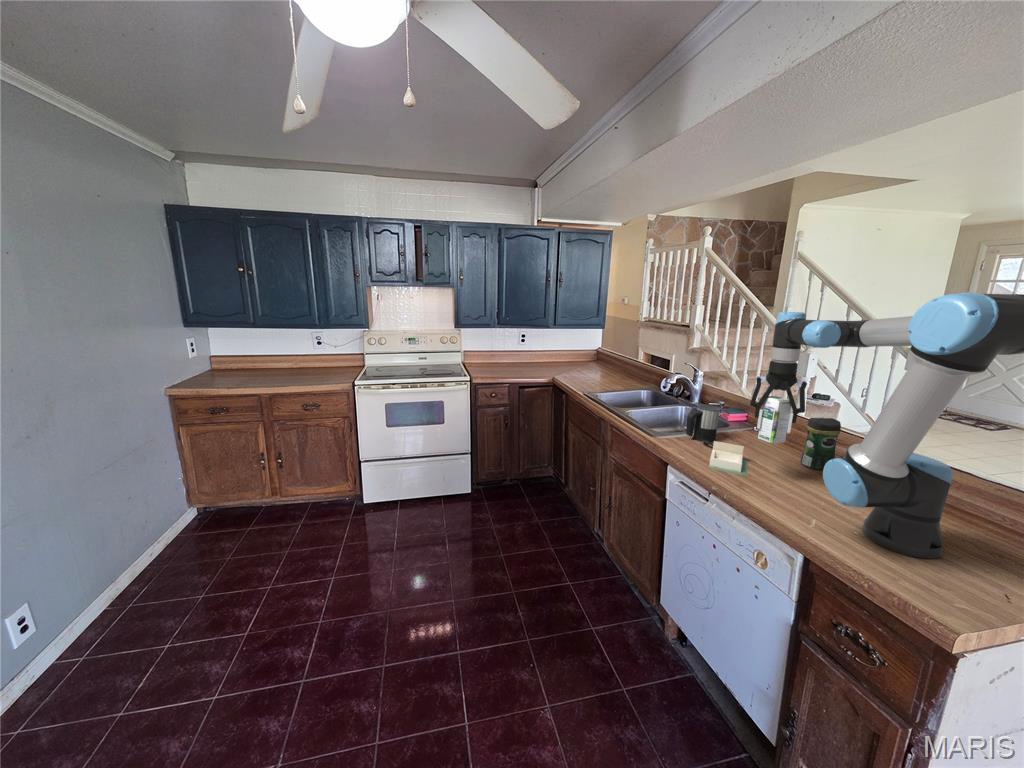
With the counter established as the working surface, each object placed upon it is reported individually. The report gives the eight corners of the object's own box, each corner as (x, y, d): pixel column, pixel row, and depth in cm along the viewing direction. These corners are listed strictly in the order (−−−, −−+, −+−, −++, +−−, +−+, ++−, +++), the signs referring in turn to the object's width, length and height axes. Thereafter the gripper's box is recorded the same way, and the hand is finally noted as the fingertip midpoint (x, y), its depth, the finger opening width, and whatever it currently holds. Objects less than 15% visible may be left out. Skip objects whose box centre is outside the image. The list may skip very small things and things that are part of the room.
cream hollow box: (740, 472, 143) (743, 456, 142) (709, 466, 148) (711, 450, 147) (741, 461, 153) (743, 446, 152) (711, 455, 158) (713, 440, 156)
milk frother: (701, 434, 183) (705, 402, 179) (735, 446, 170) (741, 412, 166) (680, 440, 175) (684, 407, 172) (715, 453, 162) (720, 417, 159)
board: (746, 477, 141) (747, 476, 141) (708, 469, 147) (708, 468, 146) (747, 461, 154) (747, 460, 154) (712, 454, 160) (712, 453, 160)
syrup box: (757, 438, 137) (763, 396, 134) (770, 437, 139) (776, 395, 136) (772, 444, 132) (779, 400, 129) (786, 442, 134) (793, 399, 131)
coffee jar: (821, 462, 155) (831, 415, 151) (837, 471, 147) (847, 422, 143) (795, 461, 155) (804, 414, 151) (809, 470, 148) (819, 421, 143)
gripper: (822, 362, 128) (809, 432, 133) (747, 356, 138) (738, 421, 143) (825, 365, 122) (812, 438, 127) (746, 359, 132) (737, 427, 137)
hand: (773, 429), depth 135 cm, fingers closed on syrup box, 8 cm apart
